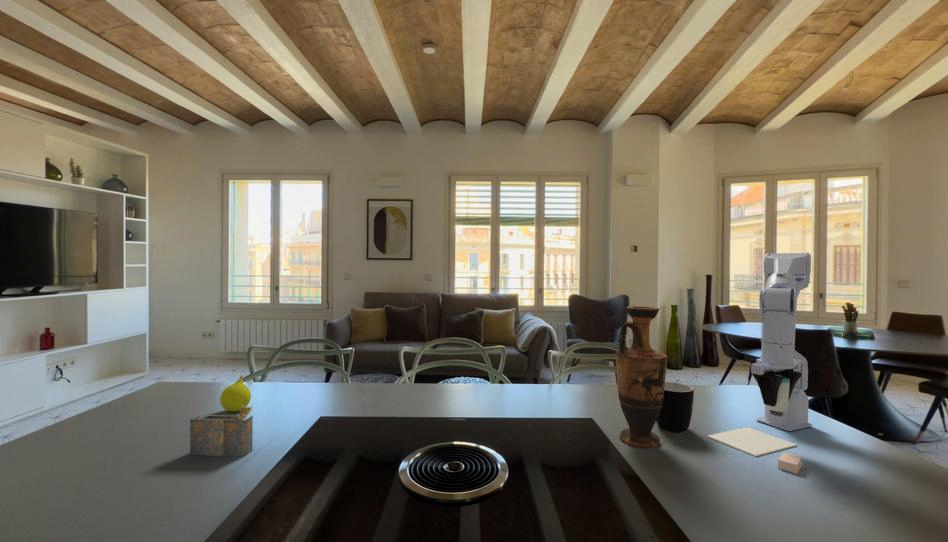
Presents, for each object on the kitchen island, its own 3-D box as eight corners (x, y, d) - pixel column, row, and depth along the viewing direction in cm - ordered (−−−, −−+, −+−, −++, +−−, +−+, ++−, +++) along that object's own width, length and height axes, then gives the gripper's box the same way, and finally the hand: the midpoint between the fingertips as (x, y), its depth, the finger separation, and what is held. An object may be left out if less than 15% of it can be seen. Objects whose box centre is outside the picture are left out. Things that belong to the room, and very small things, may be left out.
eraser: (783, 461, 86) (783, 452, 86) (802, 466, 84) (802, 456, 84) (778, 469, 83) (778, 459, 83) (797, 475, 81) (797, 464, 81)
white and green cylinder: (778, 410, 96) (781, 375, 95) (792, 417, 92) (794, 380, 91) (761, 410, 96) (763, 374, 95) (773, 417, 92) (775, 379, 91)
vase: (666, 436, 98) (668, 306, 98) (665, 454, 88) (668, 310, 88) (617, 428, 103) (619, 304, 103) (611, 444, 93) (613, 307, 93)
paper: (747, 428, 104) (747, 427, 104) (796, 445, 94) (796, 444, 94) (707, 436, 98) (707, 435, 98) (755, 456, 88) (755, 455, 88)
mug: (698, 436, 98) (699, 392, 98) (658, 433, 100) (658, 390, 100) (681, 418, 110) (682, 379, 110) (645, 416, 112) (646, 377, 112)
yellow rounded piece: (252, 405, 116) (252, 369, 116) (249, 414, 110) (249, 375, 110) (222, 408, 114) (223, 371, 114) (217, 417, 107) (217, 377, 107)
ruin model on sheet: (253, 451, 89) (253, 405, 89) (245, 458, 86) (245, 410, 86) (200, 450, 89) (200, 404, 89) (190, 457, 86) (190, 409, 86)
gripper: (778, 337, 100) (777, 394, 101) (737, 341, 94) (736, 402, 95) (812, 342, 94) (810, 403, 94) (771, 347, 88) (769, 412, 88)
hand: (776, 403), depth 94 cm, fingers closed on white and green cylinder, 4 cm apart
